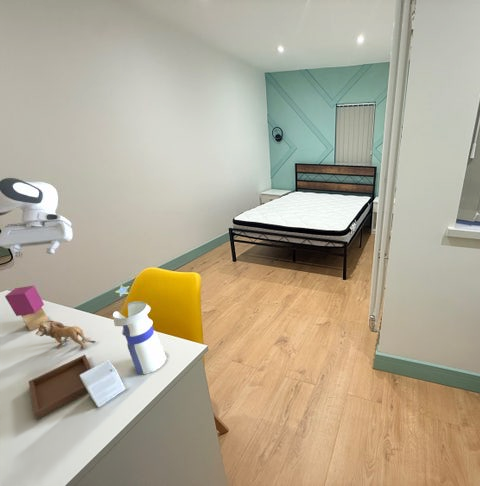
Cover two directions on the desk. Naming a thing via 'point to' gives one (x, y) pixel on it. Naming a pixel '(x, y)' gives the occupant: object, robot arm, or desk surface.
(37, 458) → the desk surface
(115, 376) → the product box
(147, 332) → the white milk jug
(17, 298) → the top block
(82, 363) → the tray
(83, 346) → the lion figurine
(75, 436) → the desk surface
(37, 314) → the base block
